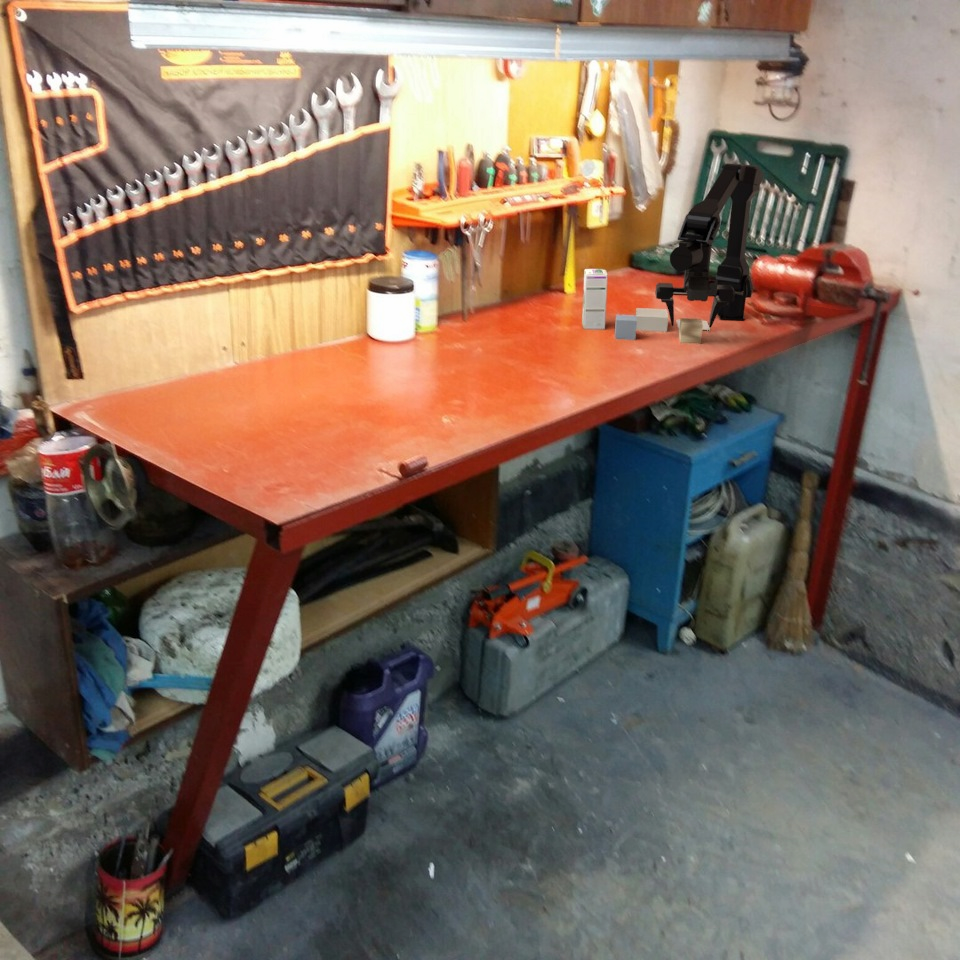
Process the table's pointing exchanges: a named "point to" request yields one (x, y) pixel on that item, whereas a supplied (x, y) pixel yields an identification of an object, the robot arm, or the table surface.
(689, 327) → the birch cube
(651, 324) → the base block
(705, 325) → the tile
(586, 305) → the syrup box
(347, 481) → the table surface
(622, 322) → the slate-blue cube
